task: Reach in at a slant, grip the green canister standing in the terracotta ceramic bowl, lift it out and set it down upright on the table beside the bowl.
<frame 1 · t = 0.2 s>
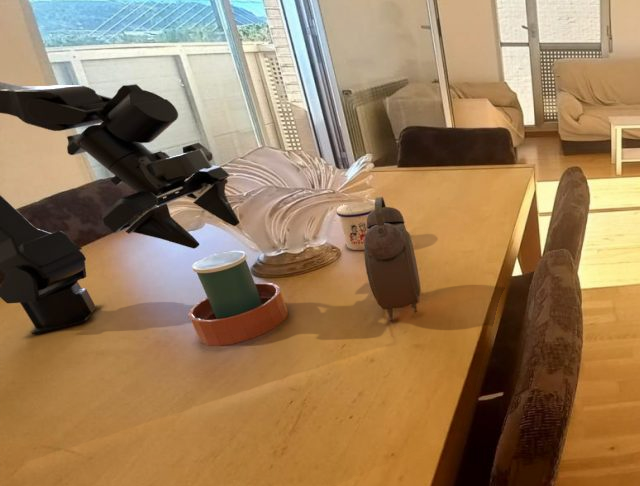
hand: (218, 235, 78), 15 cm above the table, tool tilted 35°, fingers open, 9 cm apart
alarm clock: (401, 308, 84), on the table
green canister: (245, 323, 79), resting on bowl
bowl: (246, 326, 79), on the table
teacup with lid: (375, 242, 111), on the table
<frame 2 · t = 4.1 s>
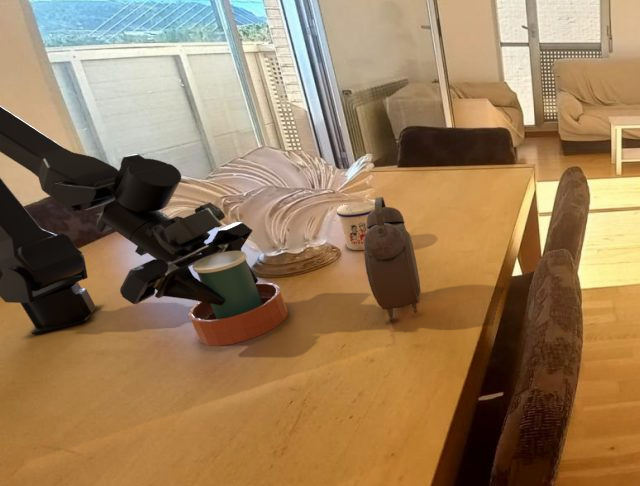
hand: (240, 292, 77), 7 cm above the table, tool tilted 45°, fingers closed on green canister, 6 cm apart
green canister: (245, 323, 79), point 1 cm above the table, touching bowl, gripper
everything else where it was.
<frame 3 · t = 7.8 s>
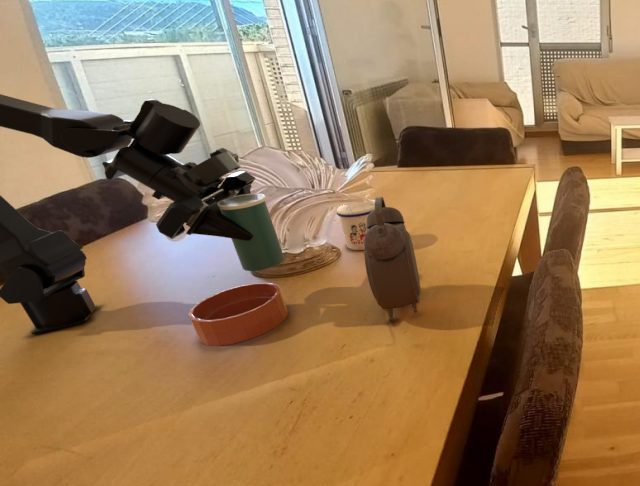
hand: (261, 231, 82), 14 cm above the table, tool tilted 45°, fingers closed on green canister, 6 cm apart
green canister: (264, 263, 85), point 7 cm above the table, touching gripper
everything else where it was.
when the fingers open (6 cm above the table, at t = 11.9 s): green canister stays where it is, on the table.
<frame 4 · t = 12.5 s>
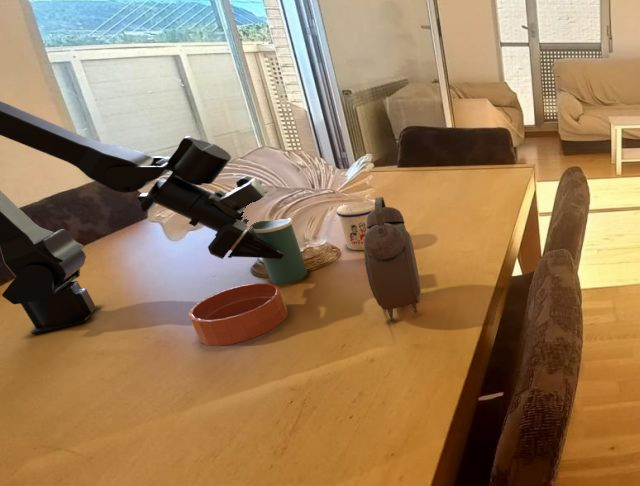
hand: (287, 247, 93), 7 cm above the table, tool tilted 45°, fingers open, 9 cm apart
green canister: (290, 278, 95), on the table
everything else where it was.
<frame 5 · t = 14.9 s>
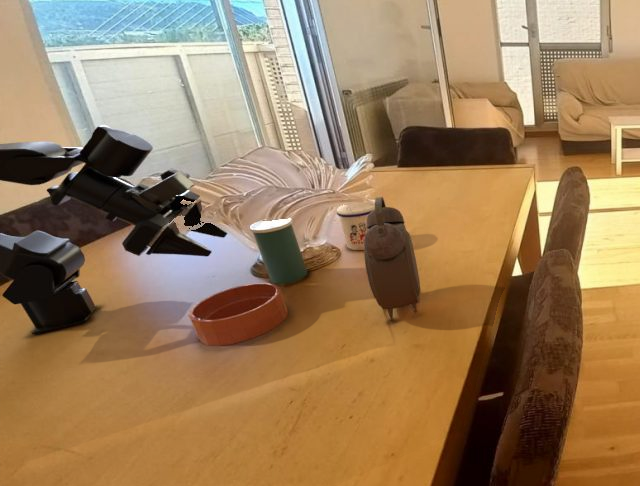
hand: (218, 244, 88), 9 cm above the table, tool tilted 45°, fingers open, 9 cm apart
nothing on the table moved.
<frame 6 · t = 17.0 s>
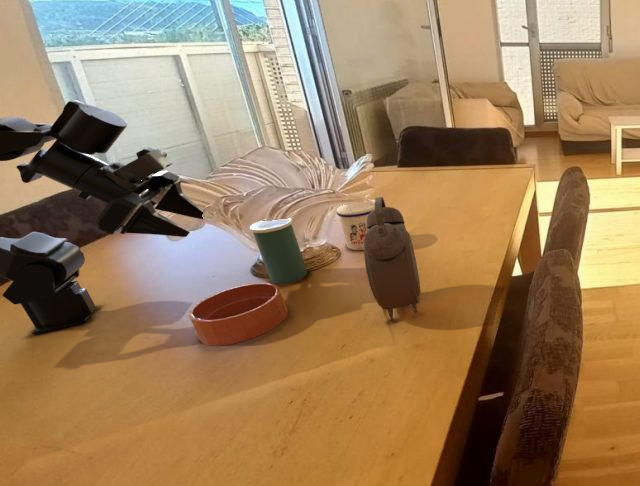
hand: (197, 225, 86), 14 cm above the table, tool tilted 45°, fingers open, 9 cm apart
nothing on the table moved.
at the end: green canister inside the target area (0.1 cm from its centre), on the table; green canister tilted 0°; the gripper is holding nothing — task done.
